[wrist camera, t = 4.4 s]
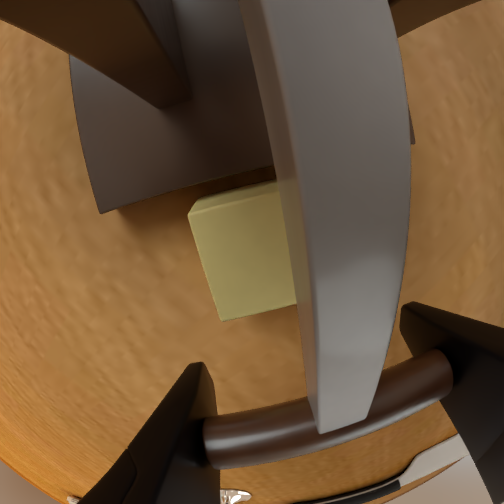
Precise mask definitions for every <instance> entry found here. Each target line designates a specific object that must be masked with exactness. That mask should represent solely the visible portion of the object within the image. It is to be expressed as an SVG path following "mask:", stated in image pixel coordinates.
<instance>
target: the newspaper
mask: <svg viewBox="0 0 504 504" xmlns="http://www.w3.org/2000/svg"><path fill="white" fill-rule="evenodd" d="M67 500H68V502H69V503H70V504H76V503H77V502H78V501H80V500H81V499H79V498H76V497H73V496H68V497H67Z"/></svg>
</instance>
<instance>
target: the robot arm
mask: <svg viewBox="0 0 504 504" xmlns="http://www.w3.org/2000/svg"><path fill="white" fill-rule="evenodd" d="M400 332H401V334H402V336H403V338H404V340H405V342H406V344H407V346H408V347H409V349H410V351H411V353H412V355H413V357H415V356H417V355H419V354H421V353H423V352H425V351H427V350H429V349H438V350H440V351H441V352H442V353H443V354H444V355H445V356H446V357H447V359H448V361H449V363H450V365H451V368H452V372H453V387H452V390H451V391H450V393H449V394H448V395H447V396H445V397H444V398H442V399H440V400H439V401H440V402H441V404H442V406H443V407H444V409H445V411H446V412H447V414H448V416H449V417H450V419H451V421H452V423H453V424H454V426H455V428H456V430H457V431H458V433H459V435H460V437H461V438H462V440H463V442H464V444H465V446H466V448H467V450H468V451H469V453H470V455H471V457H472V459H473V461H474V463H475V465H476V467H477V469H478V471H479V473H480V475H481V477H482V479H483V482H484V484H485V486H486V488H487V490H488V492H489V494H490V497H491V499H492V502H493V504H502V503H503V502H504V328H501V327H498V326H494V325H491V324H488V323H484V322H481V321H478V320H474V319H471V318H468V317H464V316H461V315H458V314H454V313H451V312H448V311H444V310H441V309H438V308H434V307H431V306H428V305H424V304H421V303H418V302H414V301H413V302H410V303H407V304H404V305H403V306H402V308H401V315H400ZM217 415H218V414H217V406H216V398H215V389H214V384H213V380H212V378H211V376H210V374H209V372H208V370H207V367H206V365H205V364H204V363H203V362H195V363H191V364H189V365H188V366H187V367H186V369H185V370H184V372H183V373H182V374H181V376H180V377H179V378H178V380H177V381H176V382H175V384H174V385H173V387H172V388H171V389H170V391H169V392H168V393H167V395H166V396H165V397H164V399H163V400H162V401H161V403H160V404H159V405H158V407H157V408H156V409H155V411H154V412H153V414H152V415H151V416H150V418H149V419H148V420H147V422H146V423H145V424H144V426H143V427H142V428H141V430H140V431H139V432H138V434H137V435H136V436H135V438H134V439H133V440H132V442H131V443H130V444H129V445H128V449H125V451H124V452H123V453H122V455H121V456H120V457H119V458H118V460H117V461H116V462H115V463H114V465H113V466H112V467H111V468H110V469H109V471H108V472H107V473H106V474H105V475H104V476H103V477H102V478H101V479H100V480H99V482H98V483H97V484H96V485H95V486H94V487H93V488H92V489H91V490H90V491H89V492H88V493H87V494H86V495H85V496H84V497H83V498H82V499H81V500H80V501H78V502H77V503H76V504H221V497H220V470H217V469H214V468H213V467H212V466H211V464H210V462H209V460H208V458H207V456H206V453H205V449H204V445H203V438H202V426H203V421H204V419H205V418H207V417H210V416H217Z"/></svg>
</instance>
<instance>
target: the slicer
mask: <svg viewBox="0 0 504 504" xmlns="http://www.w3.org/2000/svg"><path fill="white" fill-rule="evenodd" d="M387 1H388V4H389V7H390V11H391V14H392V18H393V22H394V26H395V30H396V35H397V38H399V37H401V36H402V35H404V34H406V33H408V32H410V31H412V30H414V29H416V28H418V27H420V26H422V25H424V24H426V23H428V22H430V21H432V20H435V19H437V18H439V17H441V16H443V15H446V14H448V13H450V12H453V11H455V10H457V9H460V8H462V7H465V6H467V5H470V4H473V3H475V2H478V1H481V0H387ZM0 20H3V21H5V22H7V23H9V24H11V25H14V26H16V27H18V28H20V29H22V30H24V31H26V32H28V33H30V34H32V35H34V36H36V37H38V38H40V39H42V40H44V41H46V42H48V43H50V44H51V45H53V46H55V47H57V48H59V49H61V50H63V51H64V52H66V53H68V54H69V64H70V75H71V84H72V92H73V100H74V106H75V113H76V119H77V124H78V130H79V135H80V140H81V145H82V149H83V154H84V158H85V162H86V167H87V171H88V175H89V178H90V182H91V186H92V190H93V193H94V197H95V200H96V203H97V207H98V210H99V213H100V214H103V213H106V212H109V211H112V210H115V209H118V208H120V207H123V206H126V205H129V204H132V203H135V202H139V201H142V200H145V199H148V198H151V197H154V196H158V195H161V194H164V193H167V192H171V191H174V190H178V189H181V188H185V187H188V186H192V185H195V184H199V183H203V182H206V181H210V180H214V179H218V178H222V177H226V176H230V175H234V174H238V173H242V172H247V171H251V170H255V169H260V168H264V167H269V166H274V161H273V155H272V150H271V145H270V140H269V135H268V130H267V125H266V120H265V115H264V110H263V106H262V101H261V96H260V91H259V87H258V82H257V78H256V73H255V69H254V65H253V60H252V56H251V52H250V47H249V43H248V39H247V35H246V31H245V27H244V23H243V19H242V15H241V11H240V7H239V4H238V0H0ZM408 111H409V106H408ZM409 124H410V142H411V144H415V138H414V132H413V126H412V121H411V116H410V111H409Z"/></svg>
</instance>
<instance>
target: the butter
mask: <svg viewBox="0 0 504 504" xmlns="http://www.w3.org/2000/svg"><path fill="white" fill-rule="evenodd" d="M188 220H189V223H190V227H191V230H192V233H193V237H194V240H195V243H196V247H197V250H198V253H199V257H200V260H201V263H202V266H203V269H204V273H205V276H206V279H207V282H208V285H209V288H210V291H211V294H212V297H213V300H214V303H215V306H216V309H217V312H218V315H219V318H220V320H221V321H223V322H224V321H228V320H233V319H237V318H241V317H246V316H250V315H254V314H258V313H262V312H266V311H270V310H274V309H278V308H282V307H286V306H290V305H294V304H297V303H296V296H295V289H294V282H293V275H292V268H291V261H290V255H289V248H288V242H287V236H286V229H285V223H284V217H283V211H282V205H281V200H280V194H279V188H278V183H277V179H274V180H269V181H265V182H260V183H256V184H252V185H247V186H243V187H239V188H235V189H231V190H227V191H223V192H219V193H215V194H211V195H207V196H204V197H200V198H198V199H197V201H196V202H195V204H194V205H193V207H192V208H191V210H190V212H189V213H188Z"/></svg>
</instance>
